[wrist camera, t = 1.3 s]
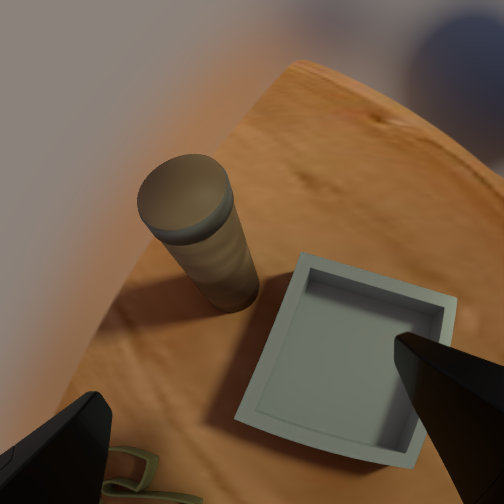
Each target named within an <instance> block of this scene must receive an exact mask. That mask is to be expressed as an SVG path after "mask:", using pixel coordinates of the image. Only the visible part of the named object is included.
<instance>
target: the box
mask: <svg viewBox="0 0 504 504" xmlns="http://www.w3.org/2000/svg"><path fill="white" fill-rule="evenodd" d="M456 306H457V298H455V297H452V296H449V295H445V294H442V293H439V292H436V291H432V290H429V289H426V288H423V287H419V286H416V285H413V284H409V283H406V282H403V281H399V280H396V279H393V278H389V277H386V276H383V275H379V274H376V273H373V272H369V271H366V270H363V269H359V268H356V267H352V266H349V265H346V264H342V263H339V262H335V261H332V260H329V259H325V258H322V257H318V256H315V255H311V254H308V253H304V252H301V254H300V257H299V259H298V262H297V265H296V267H295V270H294V273H293V275H292V278H291V281H290V283H289V286H288V289H287V291H286V294H285V297H284V299H283V302H282V304H281V307H280V309H279V312H278V314H277V317H276V320H275V322H274V325H273V327H272V330H271V332H270V335H269V337H268V340H267V342H266V344H265V347H264V349H263V352H262V354H261V357H260V359H259V361H258V364H257V366H256V369H255V371H254V373H253V376H252V378H251V380H250V383H249V385H248V387H247V390H246V392H245V394H244V397H243V399H242V401H241V404H240V406H239V408H238V410H237V413H236V415H235V417H234V419H235V420H238V421H240V422H242V423H245V424H247V425H250V426H252V427H255V428H258V429H260V430H263V431H266V432H268V433H271V434H274V435H277V436H279V437H282V438H285V439H288V440H291V441H294V442H297V443H301V444H304V445H307V446H310V447H314V448H317V449H320V450H324V451H328V452H331V453H335V454H339V455H343V456H347V457H351V458H355V459H360V460H364V461H369V462H374V463H379V464H384V465H390V466H396V467H402V468H408V469H413V468H414V465H415V463H416V460H417V458H418V455H419V453H420V450H421V448H422V445H423V442H424V440H425V437H426V434H427V431H426V429H425V427H424V426H423V424H422V422H421V420H420V418H419V417H418V415H417V413H416V411H415V409H414V408H413V406H412V404H411V401H410V399H409V397H408V394H407V392H406V389H405V387H404V385H403V382H402V380H401V378H400V375H399V373H398V371H397V368H396V366H395V363H394V339H395V336H396V335H398V334H401V333H404V332H411V333H414V334H417V335H419V336H422V337H425V338H427V339H430V340H433V341H435V342H438V343H441V344H444V345H446V346H449V347H450V344H451V339H452V333H453V327H454V320H455V313H456Z"/></svg>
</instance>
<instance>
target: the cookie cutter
mask: <svg viewBox="0 0 504 504" xmlns="http://www.w3.org/2000/svg"><path fill="white" fill-rule="evenodd" d="M109 451H121V452H126V453H129V454H132V455H135V456H138V457H140V458H142V459H144V460H146V468H145V472H144V475H143V478H142V480H141V482H140V483H139V482H136V481H134V480H131V479H127V478H114V479H111V480H107V481H104V482H103V485H102V490H101V492H102V493H103V494H104V495H106V496H109V497H126V498H151V499H162V500H170V501H176V502H181V503H185V504H202V503H203V498H200V497H197V496H193V495H188V494H183V493H175V492H162V491H141V490H143V489H146V488H147V487H148V486H149V484H150V483H151V481H152V479H153V477H154V475H155V472H156V469H157V465H158V459H159V456H157V455H155V454H152V453H150V452H147V451H145V450H142V449H138V448H134V447H127V446H116V447H109ZM113 483H114V484H118V485H121V486H124V487H127V488H129V489H131V490H133V491H119V490H115V489H114V488H113ZM99 504H103V501H102V498H101V496H100V503H99Z"/></svg>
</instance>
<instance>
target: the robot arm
mask: <svg viewBox="0 0 504 504" xmlns="http://www.w3.org/2000/svg"><path fill="white" fill-rule="evenodd" d="M394 363H395V366H396V368H397V371H398V373H399V375H400V378H401V380H402V382H403V385H404V387H405V389H406V392H407V394H408V397H409V399H410V401H411V404H412V406H413V408H414V409H415V411H416V413H417V415H418V417H419V418H420V420H421V422H422V424H423V426H424V427H425V429H426V431H427V433H428V435H429V437H430V438H431V440H432V442H433V444H434V446H435V448H436V450H437V452H438V453H439V455H440V457H441V459H442V461H443V463H444V465H445V467H446V469H447V471H448V473H449V475H450V477H451V479H452V481H453V483H454V485H455V487H456V489H457V491H458V493H459V495H460V497H461V499H462V501H463V504H504V366H502V365H499V364H496V363H493V362H490V361H487V360H485V359H482V358H479V357H476V356H474V355H471V354H468V353H465V352H463V351H460V350H457V349H454V348H452V347H449V346H446V345H444V344H441V343H438V342H435V341H433V340H430V339H427V338H425V337H422V336H419V335H417V334H414V333H411V332H404V333H401V334H398V335H396V336H395V339H394ZM111 423H112V411H111V408H110V407H109V405H108V404H107V402H106V401H105V399H104V398H103V396H102V395H101V394H100V393H99V392H97V391H90V392H86V393H85V394H84V395H82V396H81V397H80V398H78V399H77V400H76V401H74V402H73V403H71V404H70V405H69V406H67V407H66V408H65V409H63V410H62V411H61V412H59V413H58V414H57V415H55V416H54V417H52V418H51V419H50V420H48V421H47V422H46V423H44V424H43V425H42V426H40V427H39V428H37V429H36V430H35V431H33V432H32V433H31V434H29V435H28V436H26V437H25V438H24V439H22V440H21V441H20V442H18V443H17V444H16V445H15V446H13V447H11V448H10V449H8V450H7V451H5V452H4V453H3V454H1V455H0V504H99V503H100V496H101V490H102V485H103V479H104V473H105V468H106V463H107V458H108V451H109V441H110V432H111Z"/></svg>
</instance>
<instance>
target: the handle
mask: <svg viewBox="0 0 504 504" xmlns="http://www.w3.org/2000/svg"><path fill="white" fill-rule="evenodd" d="M137 206H138V212H139V215H140V217H141V219H142V221H143V222H144V223H145V224H146V226H147V227H148V228H149V230H150V231H151V232H152V233H153V235H154V236H155V237H156V238H157V239H158V240H160V241H161V242H162V243H163V245H164V246H165V247H166V248H167V250H168V251H169V252H170V253H171V255H172V256H173V257H174V259H175V260H176V261H177V262H178V264H179V265H180V266H181V267H182V269H183V270H184V271H185V272H186V274H187V275H188V276H189V277H190V278H191V280H192V281H193V282H194V283H195V285H196V286H197V287H198V288H199V289H200V291H201V292H202V293H203V294H204V295H205V297H206V298H207V299H208V300H209V301H210V303H211V304H212V305H213V306H214V307H215V308H217V309H218V310H220V311H223V312H228V313H234V312H239V311H242V310H244V309H246V308H247V307H249V306H250V305H251V304H252V303H253V302H254V301H255V299H256V297H257V295H258V292H259V279H258V276H257V273H256V270H255V267H254V263H253V260H252V257H251V254H250V251H249V248H248V245H247V242H246V239H245V236H244V232H243V229H242V226H241V223H240V220H239V217H238V214H237V211H236V208H235V204H234V197H233V192H232V189H231V185H230V182H229V179H228V176H227V173H226V171H225V170H224V168H223V167H222V166H221V165H220V164H219V163H218V162H217V161H216V160H214V159H213V158H211V157H208V156H205V155H200V154H188V155H182V156H178V157H175V158H173V159H170V160H168V161H166V162H164V163H163V164H161V165H159V166H158V167H157V168H156V169H155V170H153V171H152V172H151V173H150V174H149V175H148V176H147V178H146V179H145V180H144V182H143V184H142V185H141V187H140V190H139V192H138V197H137Z"/></svg>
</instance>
